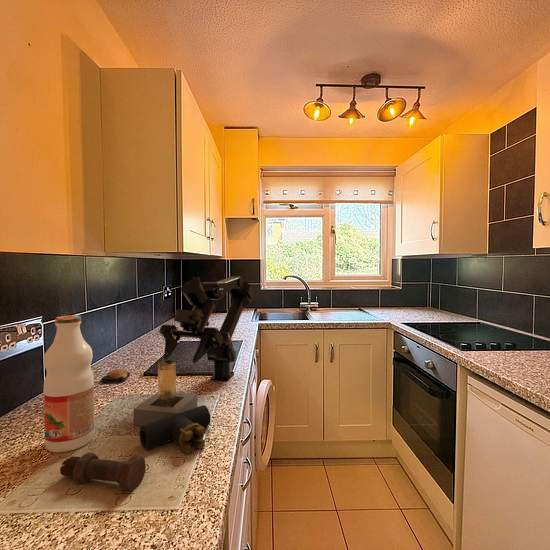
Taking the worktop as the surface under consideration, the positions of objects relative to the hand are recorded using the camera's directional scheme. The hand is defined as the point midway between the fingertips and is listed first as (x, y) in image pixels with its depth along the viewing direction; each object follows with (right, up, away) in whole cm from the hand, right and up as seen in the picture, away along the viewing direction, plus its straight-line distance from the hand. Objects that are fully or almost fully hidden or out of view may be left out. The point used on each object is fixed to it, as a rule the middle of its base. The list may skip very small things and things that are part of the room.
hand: (179, 360), depth 88 cm
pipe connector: (+6, -14, -17) cm, 22 cm away
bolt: (-5, -14, -30) cm, 33 cm away
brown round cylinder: (-2, -13, -5) cm, 14 cm away
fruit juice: (-19, -14, -17) cm, 29 cm away
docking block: (-2, -13, -5) cm, 14 cm away
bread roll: (-29, -13, +23) cm, 39 cm away
